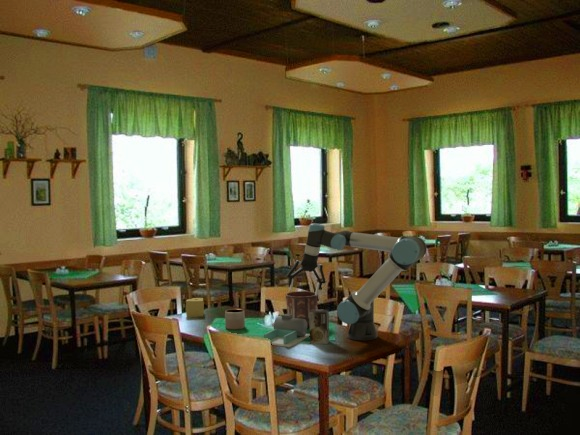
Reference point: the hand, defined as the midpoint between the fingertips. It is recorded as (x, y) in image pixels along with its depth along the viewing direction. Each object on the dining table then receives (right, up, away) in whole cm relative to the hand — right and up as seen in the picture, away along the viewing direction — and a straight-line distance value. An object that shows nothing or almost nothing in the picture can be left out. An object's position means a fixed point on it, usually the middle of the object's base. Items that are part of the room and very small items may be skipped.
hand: (303, 293), depth 316 cm
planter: (-37, -23, +26) cm, 51 cm away
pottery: (0, -22, +28) cm, 36 cm away
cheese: (-65, -21, +60) cm, 91 cm away
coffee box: (+8, -24, -9) cm, 27 cm away
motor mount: (-9, -24, -2) cm, 25 cm away
